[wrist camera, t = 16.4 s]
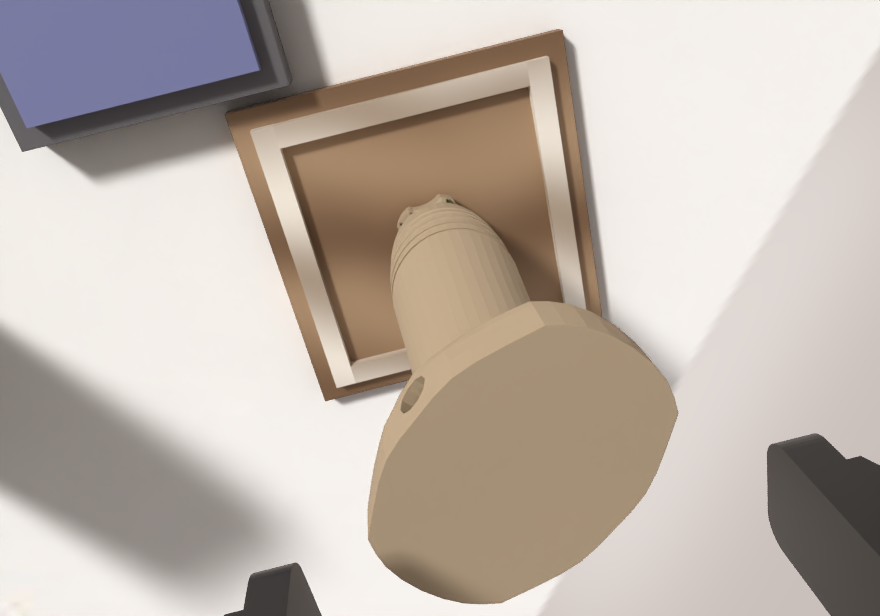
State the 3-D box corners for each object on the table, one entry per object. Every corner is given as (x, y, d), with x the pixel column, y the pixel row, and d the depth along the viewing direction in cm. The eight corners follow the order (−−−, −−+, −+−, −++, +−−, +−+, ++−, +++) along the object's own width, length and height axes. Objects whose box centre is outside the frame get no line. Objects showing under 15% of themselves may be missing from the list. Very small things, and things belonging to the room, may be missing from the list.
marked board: (227, 111, 25) (222, 116, 24) (557, 29, 25) (565, 30, 24) (325, 393, 30) (325, 406, 29) (599, 323, 30) (606, 334, 29)
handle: (536, 200, 27) (727, 411, 13) (437, 328, 28) (514, 633, 15) (434, 125, 25) (529, 276, 12) (335, 265, 27) (317, 542, 13)
